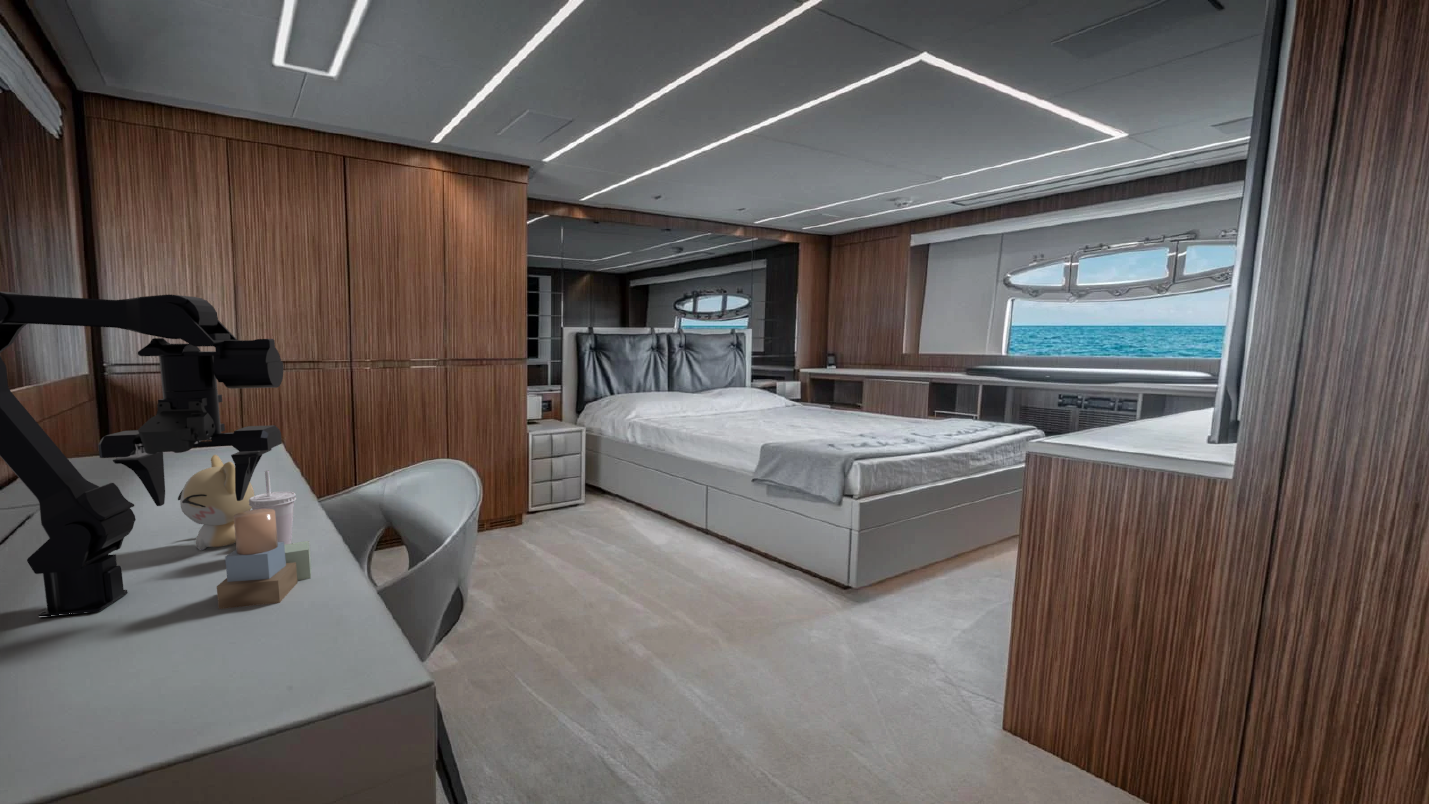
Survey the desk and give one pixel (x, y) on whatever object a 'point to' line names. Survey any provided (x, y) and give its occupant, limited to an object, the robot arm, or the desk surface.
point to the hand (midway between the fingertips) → (200, 502)
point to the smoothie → (277, 509)
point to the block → (299, 558)
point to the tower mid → (255, 564)
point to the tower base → (257, 589)
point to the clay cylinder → (255, 531)
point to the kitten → (214, 503)
